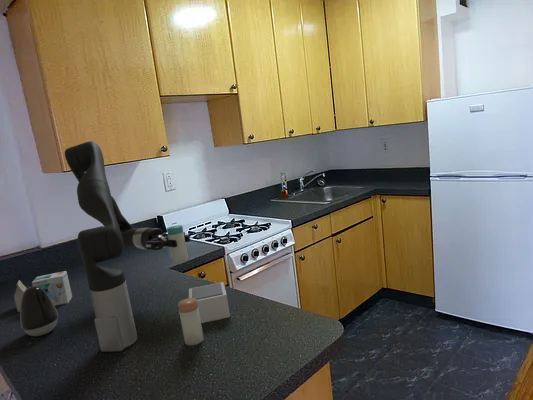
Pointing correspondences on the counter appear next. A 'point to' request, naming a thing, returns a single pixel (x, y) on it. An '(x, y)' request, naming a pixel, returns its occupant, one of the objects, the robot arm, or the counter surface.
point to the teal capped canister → (180, 251)
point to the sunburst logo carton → (19, 294)
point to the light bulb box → (55, 287)
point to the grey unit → (211, 301)
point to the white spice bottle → (190, 321)
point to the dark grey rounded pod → (37, 312)
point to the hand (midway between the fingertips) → (182, 241)
